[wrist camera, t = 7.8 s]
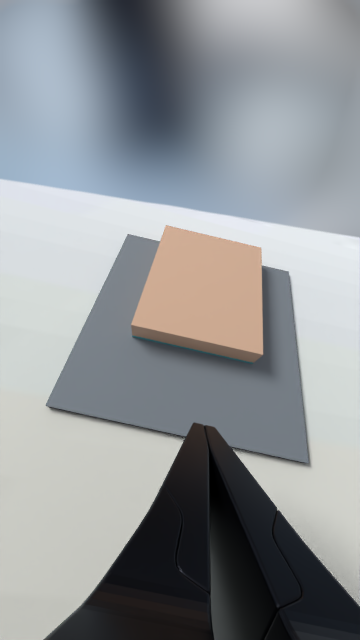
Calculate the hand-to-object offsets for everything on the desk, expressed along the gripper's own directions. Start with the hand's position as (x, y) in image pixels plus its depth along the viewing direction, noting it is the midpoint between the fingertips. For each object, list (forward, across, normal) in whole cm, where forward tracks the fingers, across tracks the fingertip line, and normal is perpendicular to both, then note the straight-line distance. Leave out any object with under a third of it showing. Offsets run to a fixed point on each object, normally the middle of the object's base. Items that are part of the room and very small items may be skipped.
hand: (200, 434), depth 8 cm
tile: (+9, 0, 0) cm, 9 cm away
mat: (+12, 0, -1) cm, 12 cm away
